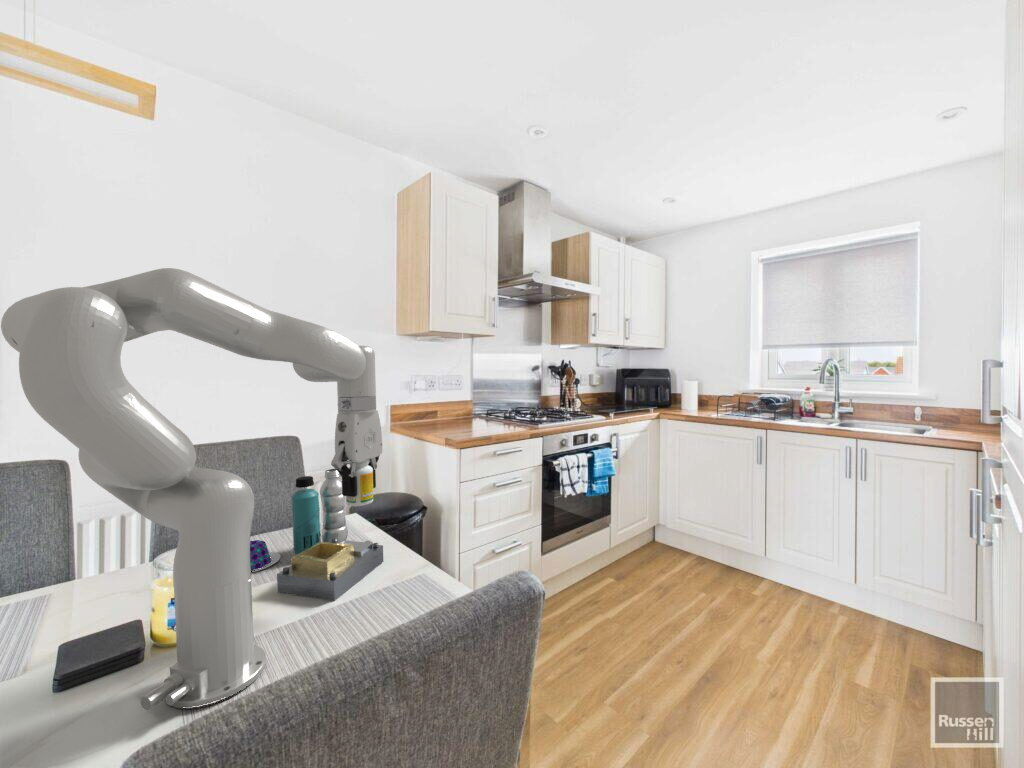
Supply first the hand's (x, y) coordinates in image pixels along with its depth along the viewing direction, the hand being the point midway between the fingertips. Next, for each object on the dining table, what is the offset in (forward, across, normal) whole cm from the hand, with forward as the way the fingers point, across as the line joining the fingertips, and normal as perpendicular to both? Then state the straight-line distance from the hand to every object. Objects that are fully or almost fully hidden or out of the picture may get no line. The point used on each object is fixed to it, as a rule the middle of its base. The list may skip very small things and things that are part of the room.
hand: (359, 490), depth 90 cm
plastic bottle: (+21, +19, +23) cm, 37 cm away
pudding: (+22, +4, +34) cm, 41 cm away
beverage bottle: (+21, +11, +25) cm, 35 cm away
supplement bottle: (+3, 0, 0) cm, 3 cm away
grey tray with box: (+21, +5, +10) cm, 24 cm away
